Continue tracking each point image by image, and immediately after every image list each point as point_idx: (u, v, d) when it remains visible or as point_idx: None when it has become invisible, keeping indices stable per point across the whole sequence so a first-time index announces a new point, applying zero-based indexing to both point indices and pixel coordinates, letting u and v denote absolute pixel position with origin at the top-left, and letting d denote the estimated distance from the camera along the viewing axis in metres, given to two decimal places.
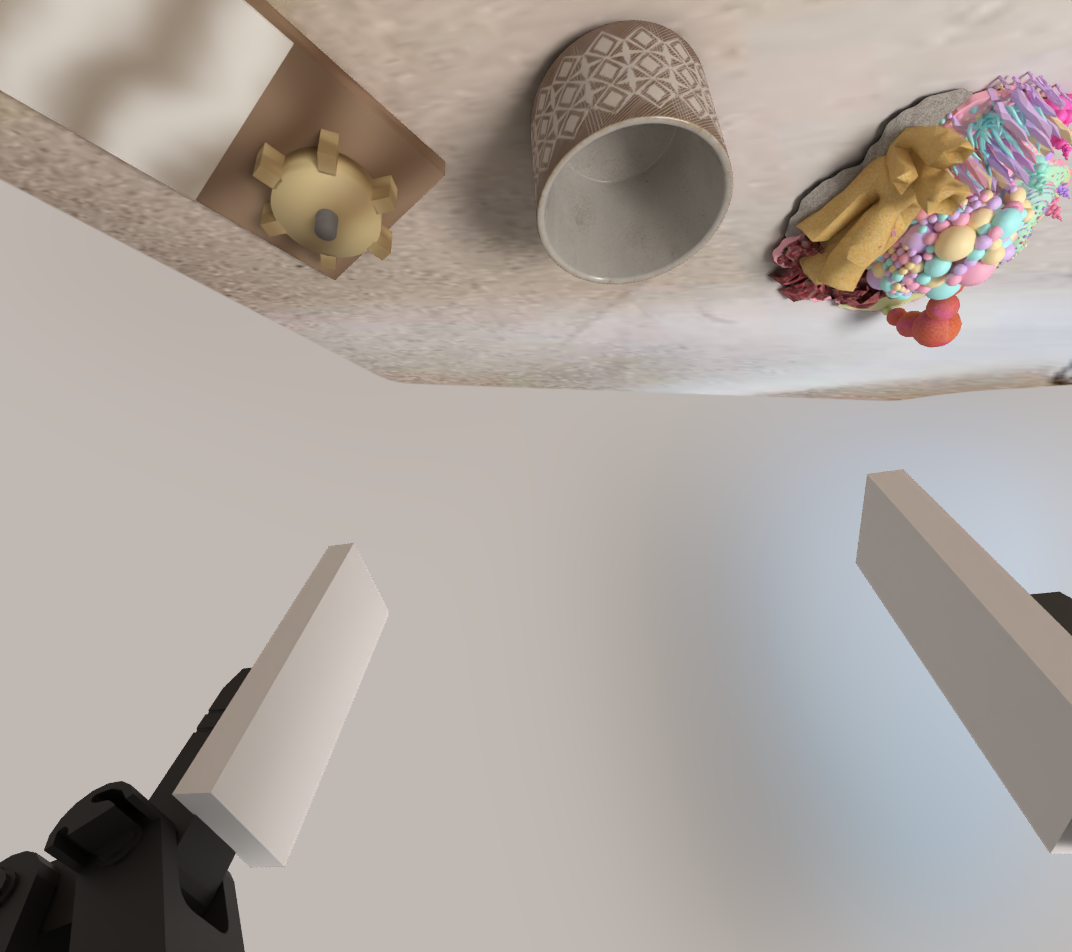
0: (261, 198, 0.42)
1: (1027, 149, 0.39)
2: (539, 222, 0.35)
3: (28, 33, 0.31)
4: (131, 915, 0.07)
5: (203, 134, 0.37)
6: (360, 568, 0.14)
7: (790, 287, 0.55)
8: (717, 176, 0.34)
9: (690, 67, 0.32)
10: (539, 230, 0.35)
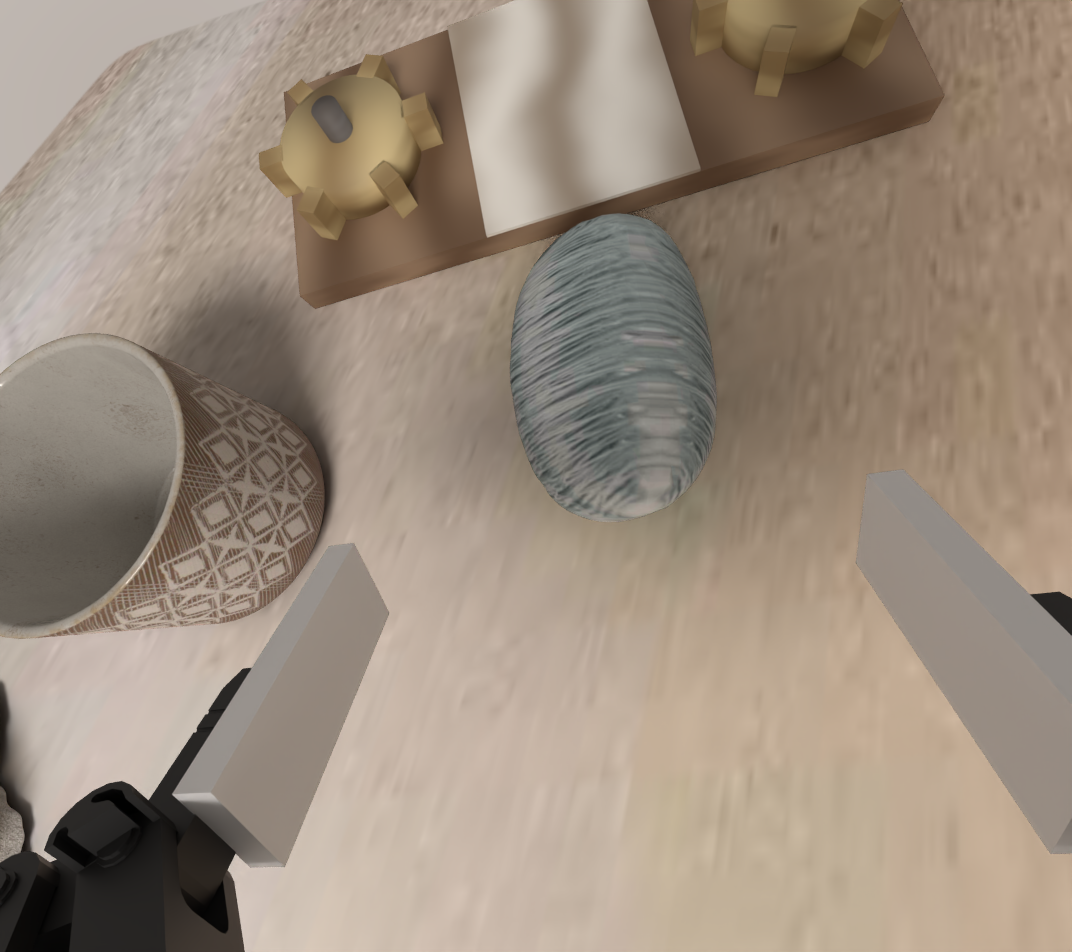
0: (406, 93, 0.33)
1: None
2: (129, 344, 0.22)
3: (627, 28, 0.30)
4: (131, 915, 0.07)
5: (484, 92, 0.32)
6: (360, 568, 0.14)
7: None
8: (32, 613, 0.22)
9: (211, 613, 0.25)
10: (120, 339, 0.22)
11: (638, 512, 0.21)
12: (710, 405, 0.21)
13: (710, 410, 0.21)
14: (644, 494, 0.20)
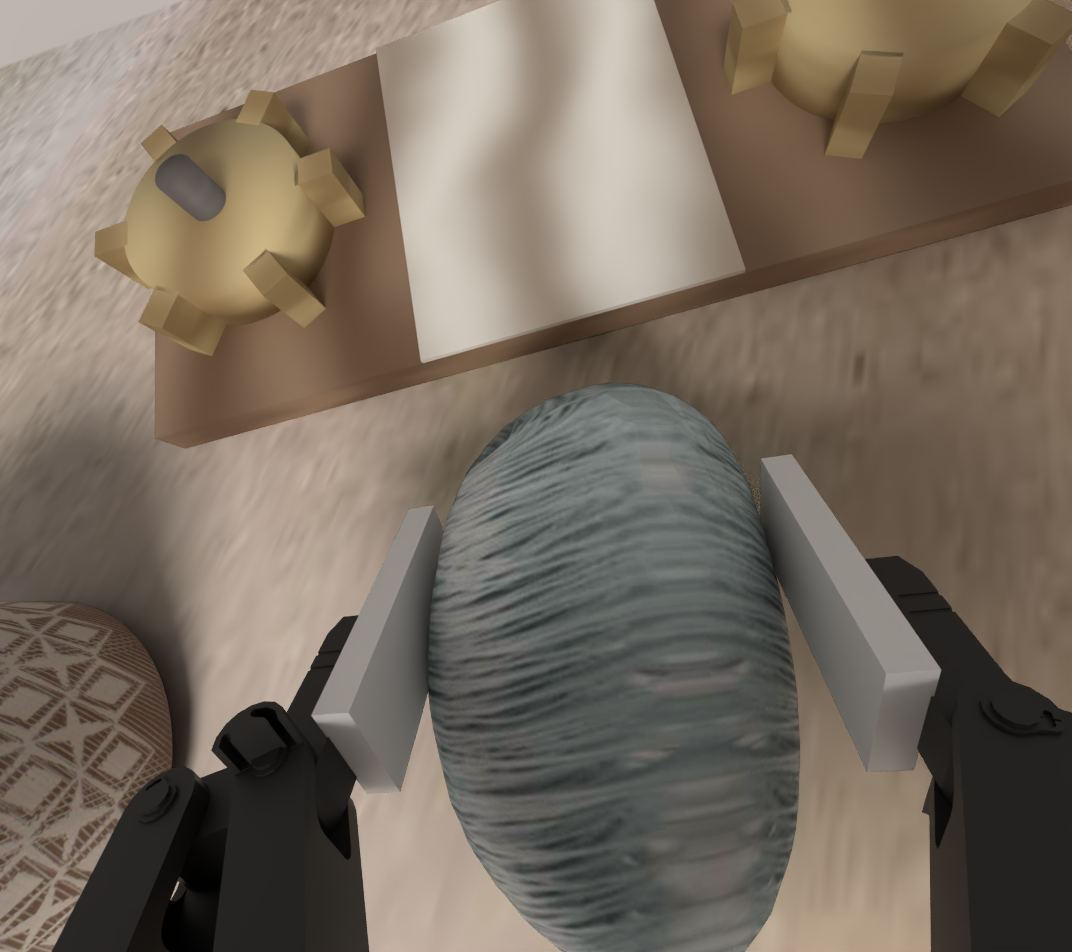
0: (317, 142, 0.24)
1: None
2: None
3: (630, 52, 0.21)
4: (277, 827, 0.08)
5: (424, 144, 0.22)
6: (438, 529, 0.15)
7: None
8: None
9: None
10: None
11: None
12: (796, 765, 0.11)
13: (797, 775, 0.11)
14: None
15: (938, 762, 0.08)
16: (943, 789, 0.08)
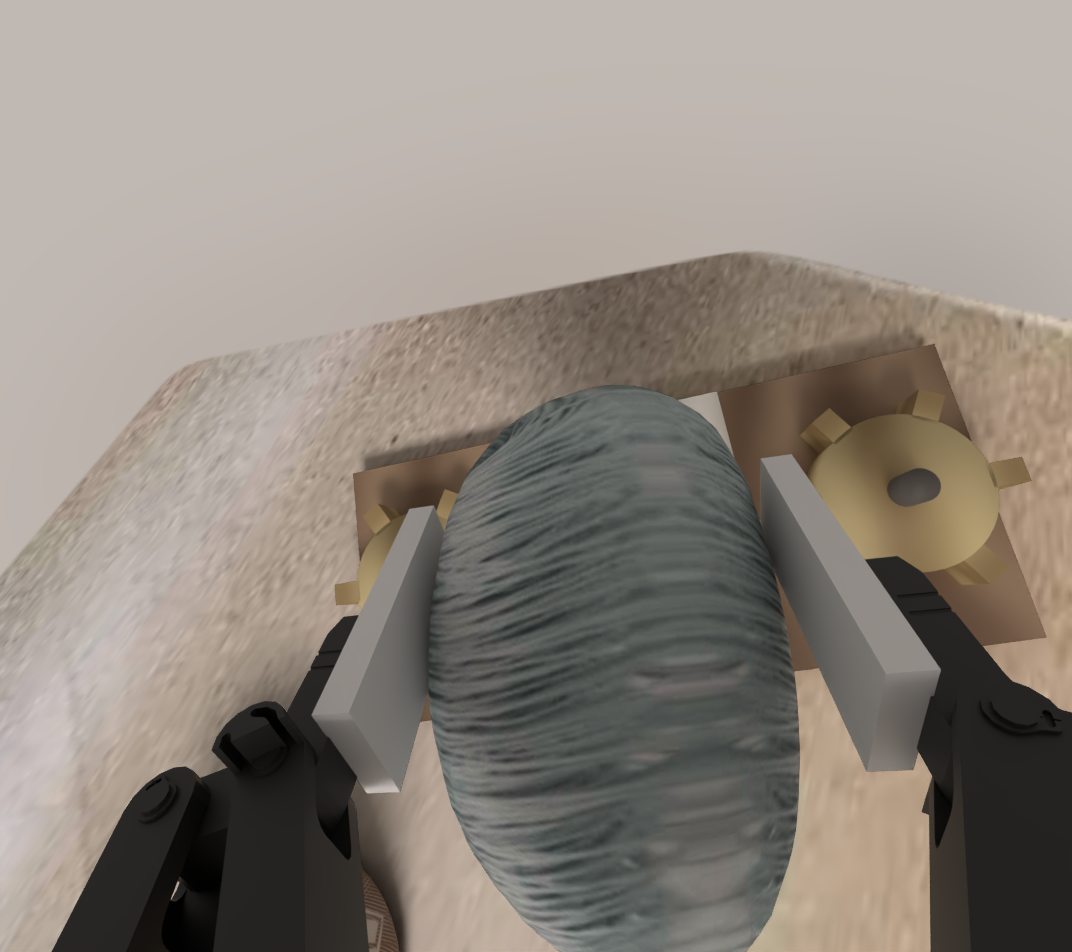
0: None
1: None
2: None
3: None
4: (277, 827, 0.08)
5: None
6: (438, 529, 0.15)
7: None
8: None
9: None
10: None
11: None
12: (796, 767, 0.11)
13: (796, 777, 0.11)
14: None
15: (938, 762, 0.08)
16: (942, 790, 0.08)
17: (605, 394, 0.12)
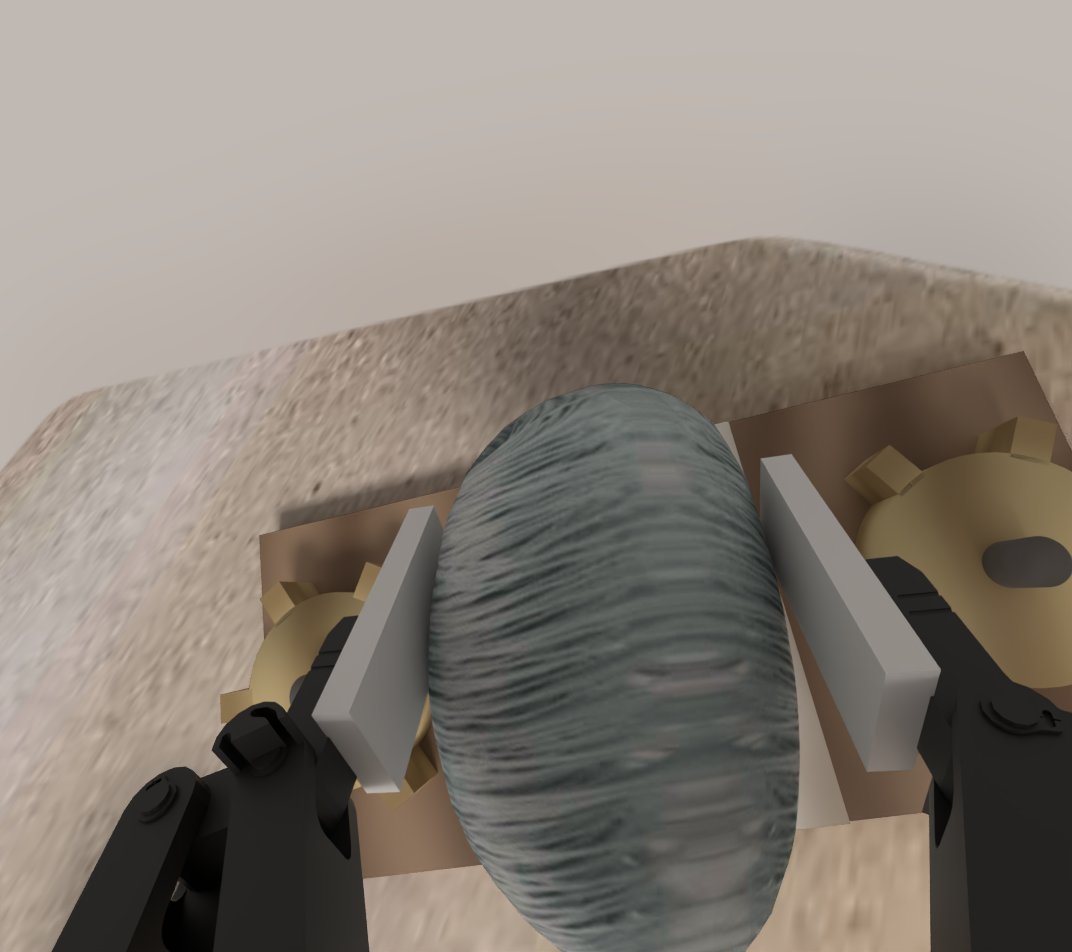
0: None
1: None
2: None
3: None
4: (277, 827, 0.08)
5: None
6: (438, 529, 0.15)
7: None
8: None
9: None
10: None
11: None
12: (796, 765, 0.11)
13: (796, 775, 0.11)
14: None
15: (938, 762, 0.08)
16: (942, 790, 0.08)
17: (605, 392, 0.12)
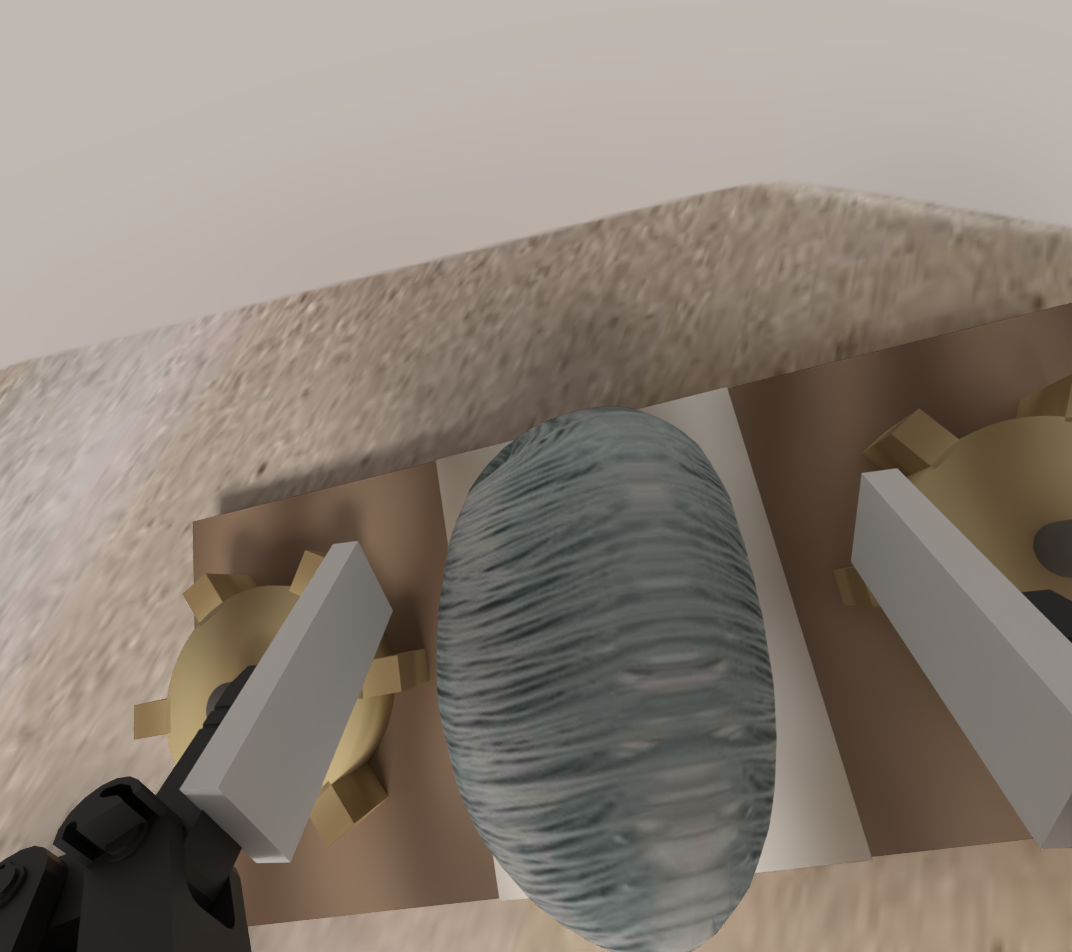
0: (372, 567, 0.22)
1: None
2: None
3: None
4: (139, 910, 0.07)
5: None
6: (363, 566, 0.14)
7: None
8: None
9: None
10: None
11: None
12: (772, 754, 0.12)
13: (772, 763, 0.12)
14: None
15: None
16: None
17: (596, 416, 0.13)
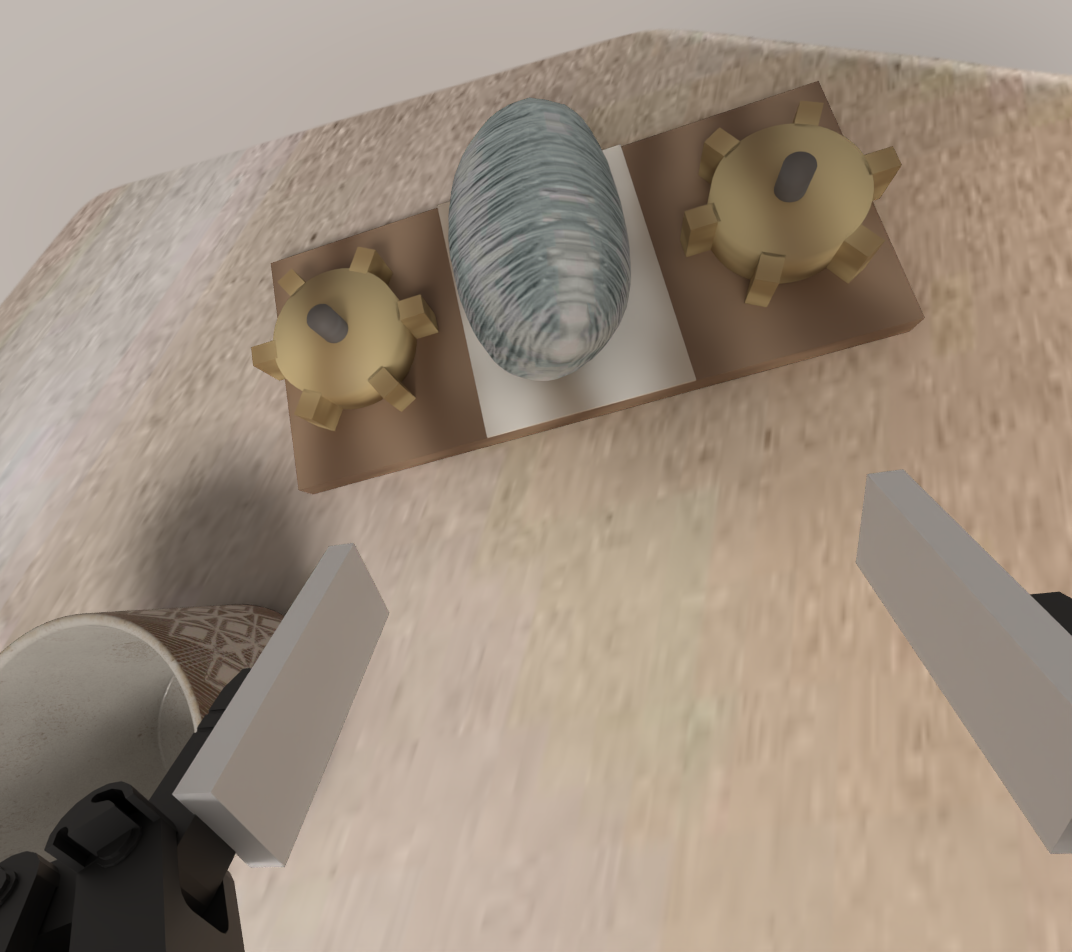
0: (398, 274, 0.33)
1: None
2: (140, 630, 0.21)
3: None
4: (131, 915, 0.07)
5: None
6: (360, 568, 0.14)
7: None
8: None
9: None
10: (129, 624, 0.22)
11: (563, 352, 0.24)
12: (621, 259, 0.25)
13: (622, 263, 0.25)
14: (566, 329, 0.23)
15: None
16: None
17: (530, 98, 0.25)
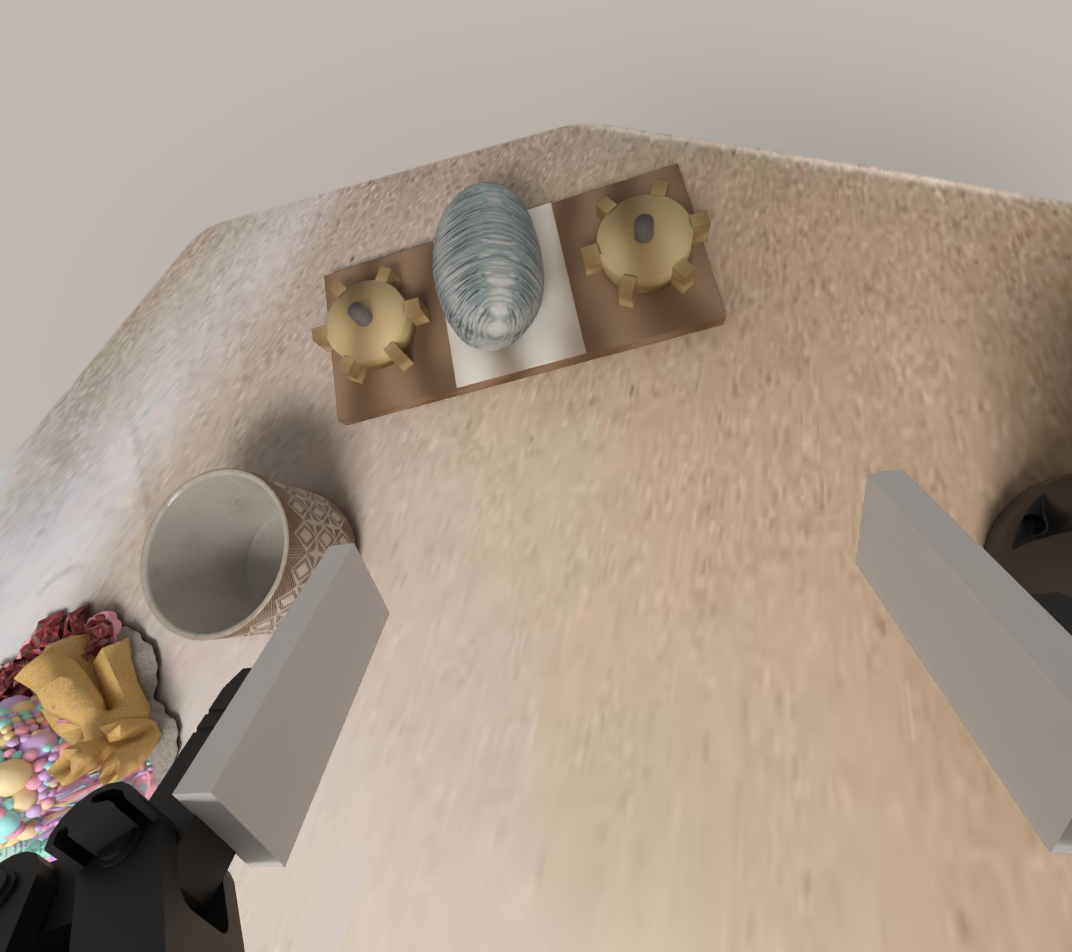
0: (406, 284, 0.51)
1: None
2: (253, 476, 0.39)
3: (546, 253, 0.48)
4: (131, 915, 0.07)
5: None
6: (359, 568, 0.14)
7: (60, 621, 0.51)
8: (200, 626, 0.39)
9: None
10: (248, 473, 0.40)
11: (495, 330, 0.41)
12: (531, 277, 0.42)
13: (532, 279, 0.42)
14: (494, 317, 0.40)
15: None
16: None
17: (482, 182, 0.43)
